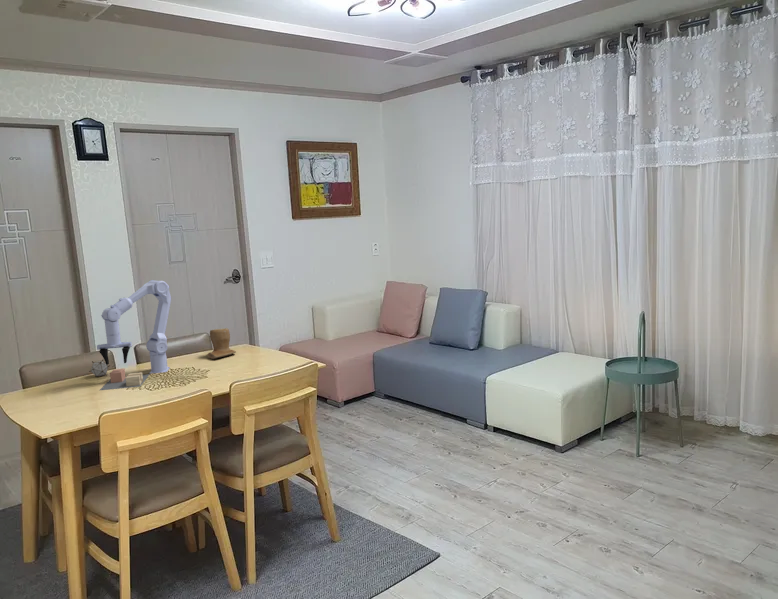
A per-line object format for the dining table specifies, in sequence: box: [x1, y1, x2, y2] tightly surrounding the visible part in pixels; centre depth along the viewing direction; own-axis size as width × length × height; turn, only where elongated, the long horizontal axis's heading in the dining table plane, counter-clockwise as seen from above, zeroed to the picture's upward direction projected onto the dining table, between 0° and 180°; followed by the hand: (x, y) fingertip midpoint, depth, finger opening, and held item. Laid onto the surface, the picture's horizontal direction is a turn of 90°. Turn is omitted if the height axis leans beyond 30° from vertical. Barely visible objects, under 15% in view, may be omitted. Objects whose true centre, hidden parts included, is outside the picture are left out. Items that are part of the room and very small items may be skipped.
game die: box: [88, 359, 111, 378], centre depth 290 cm, size 9×8×10 cm
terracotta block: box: [109, 368, 127, 383], centre depth 279 cm, size 7×5×4 cm
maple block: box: [126, 372, 144, 386], centre depth 272 cm, size 7×6×4 cm
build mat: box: [98, 373, 151, 391], centre depth 277 cm, size 22×17×1 cm
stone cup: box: [207, 327, 237, 360], centre depth 320 cm, size 15×12×15 cm
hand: (116, 363), depth 279 cm, fingers open, 7 cm apart
